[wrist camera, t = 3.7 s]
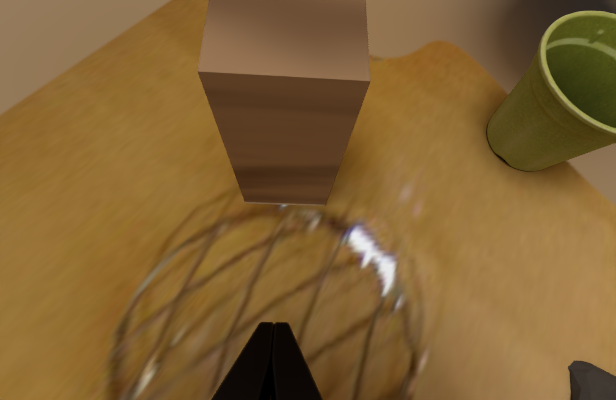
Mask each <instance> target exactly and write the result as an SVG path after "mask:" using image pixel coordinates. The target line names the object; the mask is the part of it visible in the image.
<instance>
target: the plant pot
mask: <svg viewBox="0 0 616 400" xmlns="http://www.w3.org/2000/svg"><path fill="white" fill-rule="evenodd" d="M487 137H488V141H489V144H490V146H491V148H492V149H493V151H494V152H495V153H496V154H498V155H499V156H501V157H502V158H503V159H504V160H505V161H506V162H507V163H508V164H509V165H510V166H511V167H514V168H516V169H519V170H523V171H538V170H542V169H545V168H547V167H550V166H553V165H556V164H558V163H561V162H563V161H566V160H569V159H571V158H574V157H577V156H579V155H582V154H585V153H588V152H590V151H593V150H596V149H599V148H602V147H605V146H608V145H611V144H613V143H616V14H612V13H608V12H603V11H581V12H575V13H572V14H569V15H566V16H563V17H561V18H560V19H558V20H557V21H555V22H554V23H553V24H552V25H551V26H550V27H549V28H548V29H547V31H546V32H545V33H544V35H543V37H542V39H541V41H540V44H539V48H538V52H537V53H536V55H535V57H534V59H533V61H532V64H531V66H530V68H529V69H528V71H527V72H526V73H525V74H524V76H523V77H522V78H521V80H520V81H519V82H518V84H517V85H516V86H515V88H514V89H513V90H512V92H511V93H510V94H509V95H508V97H507V98H506V99H505V100H504V102H503V103H502V104H501V106H500V107H499V108H498V110H497V111H496V112H495V113H494V115H493V116H492V118H491V119H490V121H489V123H488V127H487Z"/></svg>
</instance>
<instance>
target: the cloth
mask: <svg viewBox="0 0 616 400" xmlns="http://www.w3.org/2000/svg"><path fill="white" fill-rule="evenodd" d="M568 369H569V371H570V385H571V391H572V395H571V400H616V377H615V376H614V375H612V374H610V373H608V372H606V371H604V370H602V369H600V368H598V367H596V366H594V365H593V364H591V363H587V362H584V361H574V362H573V363H572V364H571V365H570V366H568Z"/></svg>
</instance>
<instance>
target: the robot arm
mask: <svg viewBox="0 0 616 400" xmlns="http://www.w3.org/2000/svg"><path fill="white" fill-rule="evenodd" d="M211 400H323V399H322V397H321V395H320V392H319V390H318V388H317V386H316V383H315V381H314V379H313V377H312V374H311V372H310V370H309V368H308V365H307V363H306V361H305V359H304V356H303V354H302V352H301V350H300V347H299V345H298V343H297V341H296V339H295V336H294V334H293V332H292V330H291V327H290V325H289V324H288V323H287V322H276V323H275V324H274V323H273V322H261V323H259V325H258V326H257V328H256V329H255V331H254V333H253V334H252V336H251V337H250V339H249V341H248V342H247V344H246V345H245V347H244V348H243V350H242V352H241V353H240V355H239V356H238V358H237V360H236V361H235V363H234V364H233V366H232V367H231V369H230V371H229V372H228V374H227V375H226V377H225V379H224V380H223V382H222V383H221V385H220V386H219V388H218V390H217V391H216V393H215V394H214V396H213V398H212V399H211Z"/></svg>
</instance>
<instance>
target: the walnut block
mask: <svg viewBox="0 0 616 400" xmlns="http://www.w3.org/2000/svg"><path fill="white" fill-rule="evenodd" d="M367 35H368V34H367V17H366V1H365V0H209V2H208V9H207V15H206V21H205V28H204V34H203V40H202V47H201V53H200V59H199V66H198V74H199V77H200V79H201V82H202V85H203V88H204V90H205V93H206V96H207V99H208V101H209V104H210V107H211V110H212V112H213V115H214V118H215V121H216V124H217V126H218V129H219V132H220V135H221V137H222V140H223V143H224V146H225V148H226V151H227V154H228V157H229V159H230V162H231V165H232V168H233V170H234V173H235V176H236V179H237V181H238V184H239V187H240V190H241V192H242V195H243V198H244V201H245V203H252V204H281V205H311V206H325V205H326V202H327V199H328V196H329V194H330V191H331V188H332V185H333V183H334V180H335V177H336V174H337V172H338V169H339V166H340V163H341V161H342V158H343V155H344V152H345V150H346V147H347V144H348V141H349V139H350V136H351V133H352V130H353V128H354V125H355V122H356V119H357V117H358V114H359V111H360V109H361V106H362V103H363V100H364V98H365V95H366V92H367V89H368V87H369V84H370V66H369V50H368V36H367Z"/></svg>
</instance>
